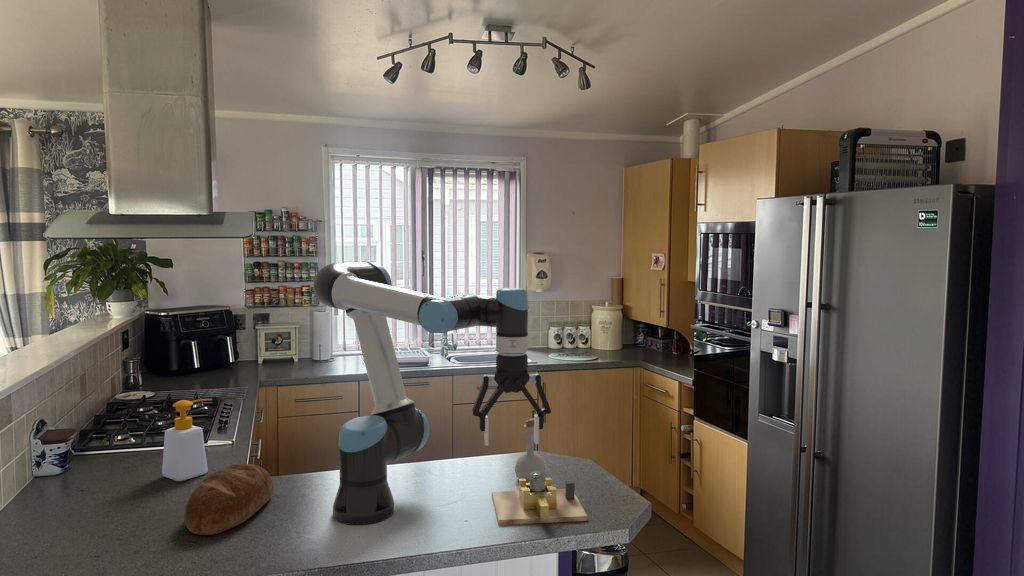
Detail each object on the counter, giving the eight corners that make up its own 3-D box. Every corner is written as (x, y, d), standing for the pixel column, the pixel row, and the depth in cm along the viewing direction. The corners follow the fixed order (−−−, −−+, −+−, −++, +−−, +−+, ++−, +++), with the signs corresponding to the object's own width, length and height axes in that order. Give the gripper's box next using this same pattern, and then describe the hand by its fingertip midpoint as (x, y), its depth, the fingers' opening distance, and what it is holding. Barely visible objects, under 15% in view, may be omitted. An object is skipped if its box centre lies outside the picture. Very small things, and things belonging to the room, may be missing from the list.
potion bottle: (542, 486, 184) (543, 423, 182) (511, 484, 185) (511, 421, 184) (547, 475, 192) (547, 415, 191) (517, 473, 194) (517, 413, 193)
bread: (167, 537, 152) (166, 489, 151) (231, 489, 181) (230, 449, 180) (233, 540, 150) (231, 492, 150) (286, 491, 180) (285, 451, 179)
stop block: (566, 500, 171) (567, 483, 171) (565, 497, 173) (565, 480, 173) (574, 499, 171) (574, 483, 171) (572, 496, 173) (572, 480, 173)
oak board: (498, 524, 159) (498, 520, 159) (491, 496, 176) (491, 491, 176) (587, 520, 161) (587, 515, 161) (571, 492, 179) (571, 488, 179)
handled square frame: (519, 496, 172) (519, 478, 172) (550, 495, 173) (550, 477, 173) (527, 521, 157) (527, 501, 157) (561, 519, 158) (561, 500, 158)
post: (530, 511, 167) (531, 476, 166) (528, 505, 171) (528, 471, 170) (546, 510, 167) (546, 476, 166) (543, 504, 171) (544, 470, 170)
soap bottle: (223, 469, 196) (221, 396, 195) (178, 483, 184) (176, 406, 183) (204, 463, 201) (202, 392, 200) (159, 477, 190) (157, 401, 188)
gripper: (462, 356, 151) (462, 449, 152) (564, 355, 153) (563, 446, 155) (461, 351, 158) (461, 440, 160) (558, 349, 161) (557, 437, 162)
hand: (511, 443), depth 157 cm, fingers open, 11 cm apart
